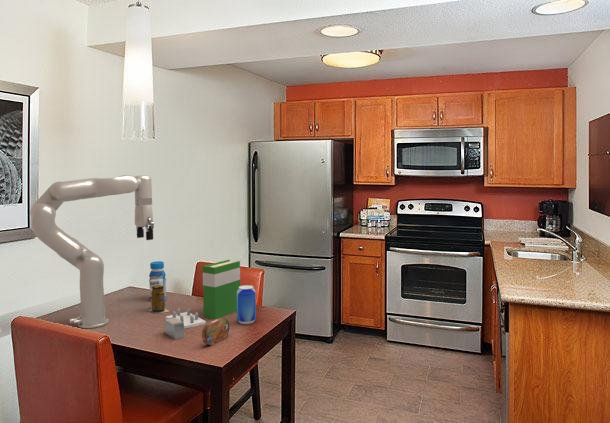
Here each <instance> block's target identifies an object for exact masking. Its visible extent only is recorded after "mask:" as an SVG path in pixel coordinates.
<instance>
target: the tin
mask: <svg viewBox="0 0 610 423" xmlns="http://www.w3.org/2000/svg"><path fill="white" fill-rule="evenodd" d="M229 331H230V322H229V320H228V319H227V317H221V318H218V319H216V320H215V319H213V320H212V321H210V322H208V323H206V324H204V327H203V328H202V332H201V338H202V339H201V340H202V342H203V343H204V344H206V345H208V346H214V345H216V344H218V343H219V342H221V341H222V340H224V339H226V338H227V337H228V335H229Z"/></svg>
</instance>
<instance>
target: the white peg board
mask: <svg viewBox="0 0 610 423" xmlns="http://www.w3.org/2000/svg"><path fill="white" fill-rule="evenodd" d="M176 309H177V311H175V310H174V311H173V310H172V314H170V315H167V316H166V315H165V319H168V318H172V317H174V318H177V319H179V320H180V321H182V322H183V323H184V330H186V329H191V328H194V327H199V326H203V325H206V324H207V321H206V320H204V319H202V318H201V317H199V312H194V314H193V313H191V308H186V311H184V312H181V308H180V307H179V308H176Z"/></svg>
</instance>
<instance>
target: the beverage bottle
mask: <svg viewBox="0 0 610 423" xmlns="http://www.w3.org/2000/svg"><path fill="white" fill-rule="evenodd" d="M149 265H150V266H149V267H150V273H149V279H148V282H149V300H150V302H152V294H151V293H152V287H153V286H156V285H162V286H163V289H164V290H163V291H164V294H165V301H166V300H167V278H166V272H165V270H164V268H165V262H164V261H162V260H161V261H160V260H159V261H157V260H156V261H151V262H150V264H149Z"/></svg>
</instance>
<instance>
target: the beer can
mask: <svg viewBox="0 0 610 423" xmlns="http://www.w3.org/2000/svg"><path fill="white" fill-rule="evenodd" d="M256 294H257V293H256V289H255V288H254V285H249V284H245V285H240V286H239V289H238V291H237V311H236V320H237V321H238V323H239V324H241V325H250V324H254V322H255V321H256V318H257V308H256V306H257V303H256V299H257V298H256Z"/></svg>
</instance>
